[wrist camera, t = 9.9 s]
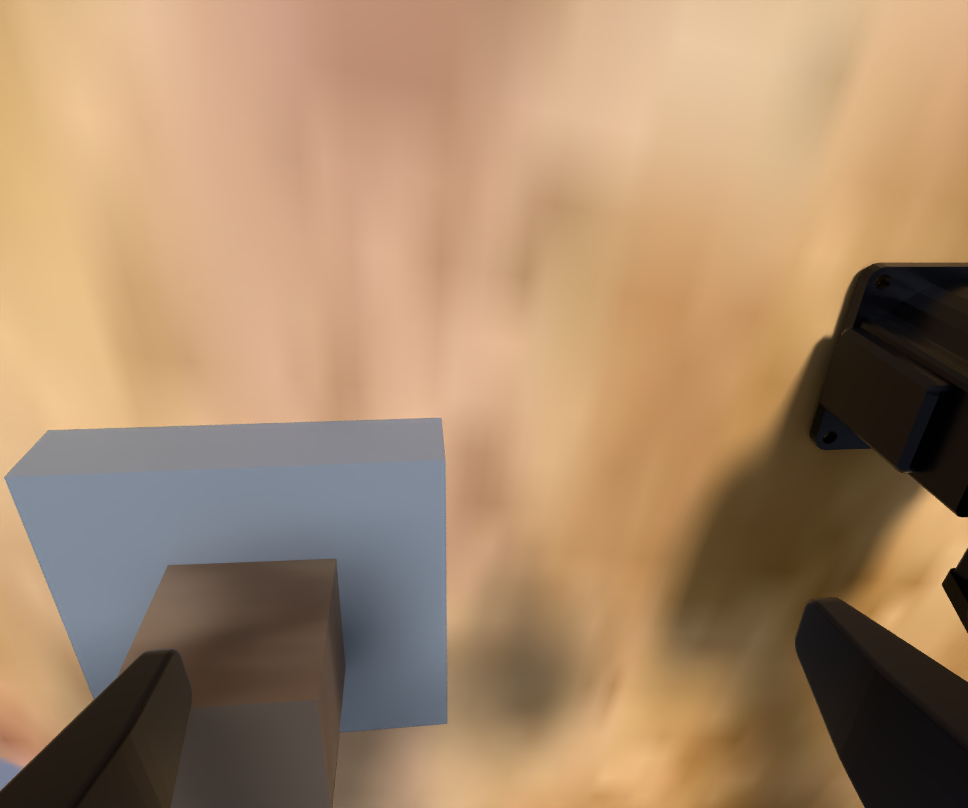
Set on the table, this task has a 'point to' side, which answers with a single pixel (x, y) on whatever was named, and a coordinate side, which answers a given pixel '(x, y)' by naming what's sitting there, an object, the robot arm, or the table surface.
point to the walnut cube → (254, 679)
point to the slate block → (253, 537)
